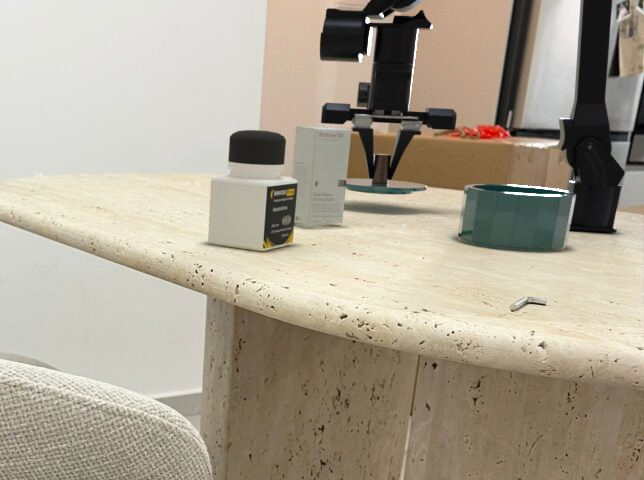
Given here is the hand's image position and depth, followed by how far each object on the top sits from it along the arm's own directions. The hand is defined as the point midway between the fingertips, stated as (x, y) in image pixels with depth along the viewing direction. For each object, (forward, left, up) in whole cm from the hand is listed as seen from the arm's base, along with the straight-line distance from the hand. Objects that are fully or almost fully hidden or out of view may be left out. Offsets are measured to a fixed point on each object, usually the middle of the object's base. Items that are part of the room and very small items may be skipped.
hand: (380, 179), depth 138 cm
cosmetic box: (+9, +19, -5) cm, 22 cm away
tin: (-15, +24, -5) cm, 29 cm away
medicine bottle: (+16, +39, -5) cm, 42 cm away
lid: (0, 0, -1) cm, 1 cm away
